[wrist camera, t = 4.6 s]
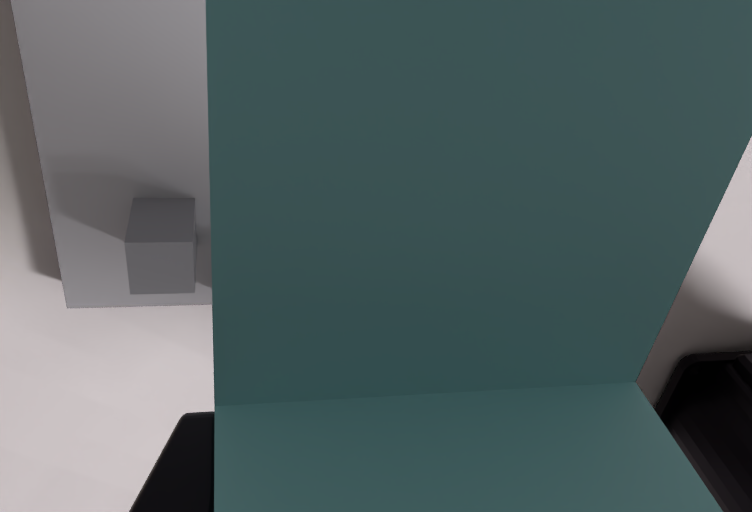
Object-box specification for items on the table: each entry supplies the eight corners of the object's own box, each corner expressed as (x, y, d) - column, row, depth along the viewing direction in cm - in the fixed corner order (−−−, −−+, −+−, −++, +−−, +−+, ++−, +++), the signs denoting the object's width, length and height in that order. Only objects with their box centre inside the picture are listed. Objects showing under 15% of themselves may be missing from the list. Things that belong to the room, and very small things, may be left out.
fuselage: (452, 520, 12) (537, 793, 9) (220, 543, 11) (222, 856, 8) (738, -408, 5) (1545, -675, 2) (202, -536, 4) (157, -1371, 1)
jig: (471, 277, 22) (502, 340, 20) (73, 285, 19) (52, 359, 17) (636, -395, 13) (731, -432, 10) (-71, -553, 10) (-160, -649, 8)
